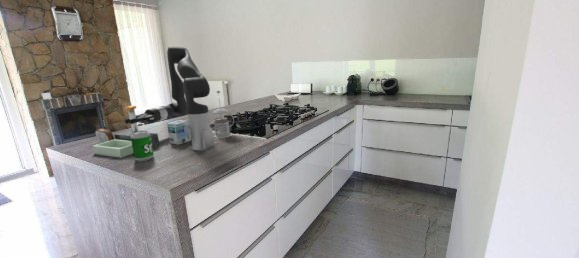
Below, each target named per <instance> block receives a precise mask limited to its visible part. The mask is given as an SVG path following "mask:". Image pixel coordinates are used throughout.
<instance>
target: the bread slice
mask: <svg viewBox="0 0 579 258" xmlns="http://www.w3.org/2000/svg"><path fill="white" fill-rule="evenodd" d="M94 133H95V134H94V135H95V136H96V140H97V142H98V144H101V143H104V142H107V141H111V140H114V139H115V136H114V134H113V133H112V131H111V130H110V129H107V128H106V129H105V128H102V127H101V128H99V129H96V130H95V132H94Z"/></svg>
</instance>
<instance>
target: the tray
mask: <svg viewBox="0 0 579 258" xmlns="http://www.w3.org/2000/svg"><path fill="white" fill-rule="evenodd" d="M92 149H93V154H94V155H100V156H107V157H115V158H121V159H122V158H124V157H127V156H129V155H134V152H133V147H132V142H131V141H126V140H117V139H115V138H114V140H111V141H107V142H104V143H101V144H100V143H97V144H95V145H92Z"/></svg>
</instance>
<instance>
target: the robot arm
mask: <svg viewBox="0 0 579 258" xmlns="http://www.w3.org/2000/svg"><path fill="white" fill-rule="evenodd" d="M166 55H167V56H166V57H167V63H168V64H167V65H168V70H169V71H168V72H169V76H170V77H169V78H170V85H171V98H172V99H173V100H174V101H175V102H171V103H169V104H167V105H165V106H158V107H152V108H148V109H146V110H145V111H144V113H140V114H135V116H136V118H134V119H129V117H128V118H125V119H124V123H125V124H126V125H127V124H130V125H131V124H134V123H137V124H138V123H142V124H143V123H149V124H155V123H158V122H161V121H164V120H166V119H167V120H168V119H170V118H172V117H173V116H174V115H176V116H179V117H185V116H186V115H187V117H188V119H187V120H189V127H190V134H191V149H192V151H193V150H194V151H208V150H211V148H213V147H215V143H214V134H213V127H211V123H210V114H209V107H208V105H206V104H202V103H199V102H196V101H195V100H194V99H200V98H206V97H208V96H209V95H210V92H211V90H210V89H211V88H210V84H209V81H208V80H207V78H206V77H205V76H204V75H203V74H202V73H201V72H200V70H199V68H198V67H197V65H196V64H195V62H194V61H193V59H192V57H191V55H190V52H189V50H188V49H187V47H184V46H168V47H167V51H166ZM175 64H176V65H177V67H176V66H175ZM176 68H177V69H176Z"/></svg>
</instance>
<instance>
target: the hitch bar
mask: <svg viewBox="0 0 579 258" xmlns="http://www.w3.org/2000/svg"><path fill="white" fill-rule="evenodd" d="M149 133H150V136H151V142H152V148H155V147H158V146H160V141H159V134H158V133H154V132H149ZM131 135H132V130H125V131H122V132H121V131H120V132H118V133H115V134H113V136H114V139H117V140H126V141H131Z"/></svg>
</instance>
